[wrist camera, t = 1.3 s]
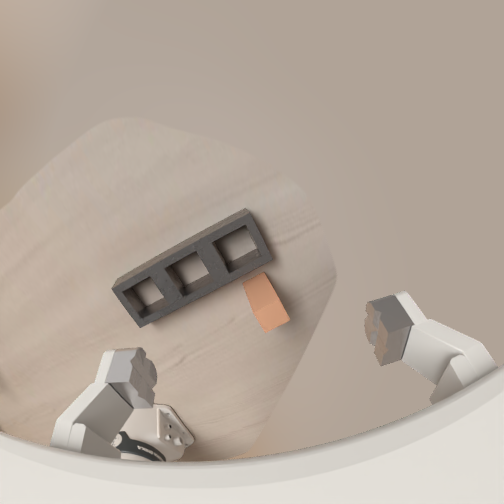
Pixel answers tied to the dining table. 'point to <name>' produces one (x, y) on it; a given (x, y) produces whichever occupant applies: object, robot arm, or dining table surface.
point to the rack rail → (215, 279)
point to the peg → (265, 302)
